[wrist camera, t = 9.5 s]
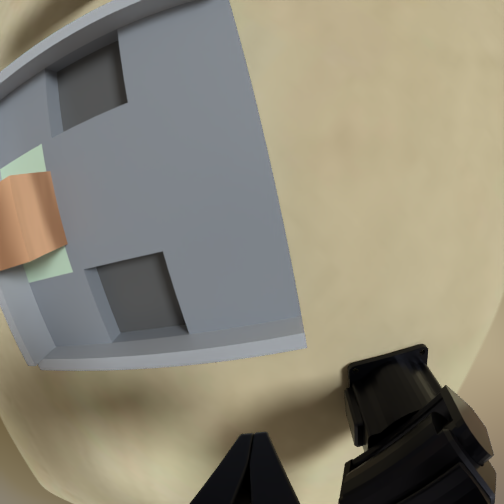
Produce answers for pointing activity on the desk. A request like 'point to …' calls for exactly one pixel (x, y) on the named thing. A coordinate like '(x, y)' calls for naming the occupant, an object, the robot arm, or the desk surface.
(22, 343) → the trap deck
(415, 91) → the desk surface
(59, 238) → the block
